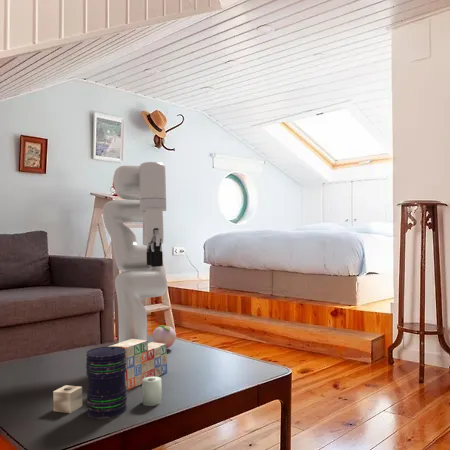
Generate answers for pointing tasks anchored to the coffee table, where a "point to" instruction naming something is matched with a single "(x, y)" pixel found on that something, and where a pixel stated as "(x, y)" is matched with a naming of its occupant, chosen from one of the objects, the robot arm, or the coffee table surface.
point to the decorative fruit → (164, 335)
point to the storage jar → (106, 382)
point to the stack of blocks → (143, 360)
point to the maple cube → (67, 398)
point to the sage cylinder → (151, 391)
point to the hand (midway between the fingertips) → (154, 265)
